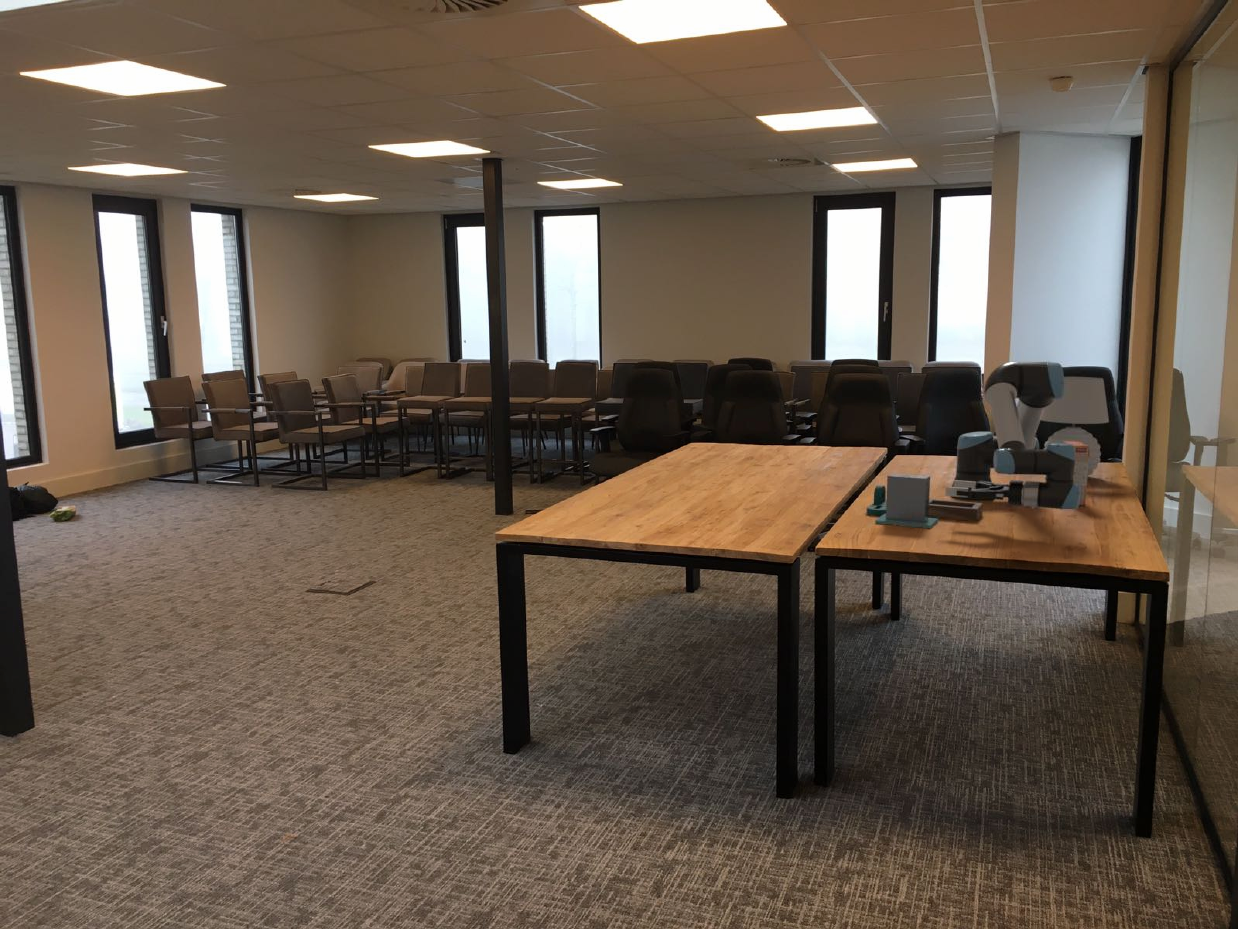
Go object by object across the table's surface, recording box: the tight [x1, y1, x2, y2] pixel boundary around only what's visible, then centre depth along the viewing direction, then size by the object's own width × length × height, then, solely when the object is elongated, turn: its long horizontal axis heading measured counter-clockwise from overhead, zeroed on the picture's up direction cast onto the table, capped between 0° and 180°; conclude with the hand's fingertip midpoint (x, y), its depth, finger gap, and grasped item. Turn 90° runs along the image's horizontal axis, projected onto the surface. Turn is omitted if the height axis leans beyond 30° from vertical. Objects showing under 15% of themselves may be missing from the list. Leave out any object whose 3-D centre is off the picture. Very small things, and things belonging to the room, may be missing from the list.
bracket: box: [866, 484, 887, 517], centre depth 334 cm, size 18×7×8 cm, turn 150°
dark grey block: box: [886, 472, 931, 523], centre depth 315 cm, size 6×12×14 cm, turn 62°
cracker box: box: [1063, 441, 1090, 506], centre depth 348 cm, size 14×6×21 cm, turn 168°
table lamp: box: [1040, 376, 1110, 477], centre depth 400 cm, size 25×25×40 cm
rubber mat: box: [874, 514, 939, 529], centre depth 316 cm, size 12×17×1 cm
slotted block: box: [928, 498, 983, 522], centre depth 326 cm, size 12×18×4 cm, turn 62°
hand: (949, 487), depth 308 cm, fingers open, 13 cm apart
